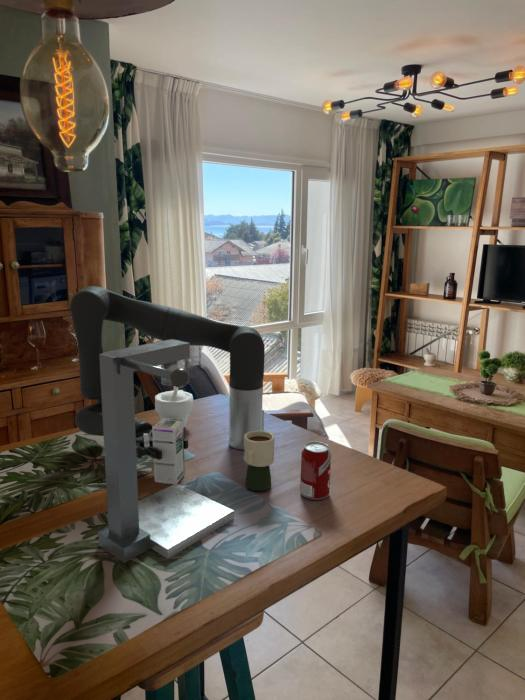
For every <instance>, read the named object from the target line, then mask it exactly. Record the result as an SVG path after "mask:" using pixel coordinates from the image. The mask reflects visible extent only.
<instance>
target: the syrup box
mask: <svg viewBox="0 0 525 700" xmlns="http://www.w3.org/2000/svg"><path fill="white" fill-rule="evenodd" d="M152 426H153V427H152V434H153V447H155V448H157V449H159V450H161V451H162V459H160V460H158V459H155V458H153V471H154V473H153V475H154V482H155V483H160V484H164V485H174V484H176V483H177V484H179V482H180V481H181V479H182V478H183V477H184V476H185V473H186V472H185V471H186V470H185V468H186V467H185V449H184V439H185V438H184V428H183V420H179V419H170V418H162V419H161V418H160V420H158V422H156V423H155V424H154V425H152Z"/></svg>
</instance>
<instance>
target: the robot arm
mask: <svg viewBox="0 0 525 700" xmlns="http://www.w3.org/2000/svg"><path fill="white" fill-rule="evenodd" d="M69 308H70V310H69V311H70V314H71V318H72V323H73V327H74V332H75V337H76V342H77V351H78V361H79V363H78V364H79V380H80V381H79V383H80V384H79V385H80V393H81V397H83V398H84V399H85V400H90V401H91V400H92V401H94V400H95V401H96V403H93V404H91V405H87V406H83V407H82V408H80V409H78V411H77V412H76V413H75V416H74V422H75V425H76V427H77V428H78V429H79V430H80V432H82V433H85V434H86V435H92V436H99V437H104V433H103V414H102V395H101V377H100V358H99V354H102V353H103V352H104V351H103V349H104V347H103V336H102V335H103V327H104V326H103V325H104V321H108V322H109V321H110V322H115V323H119V324H124V325H127V326H129V327H131V328H134V329H135V330H137V331H139V332H141V334H142V333H143V334H144V335H147V336H148V337H151V338H153V339H155V340H159V341H165V340H170V339H174V340H179V341H183V342H187V343H190V346H191V347H192V346H193V347H194V346H195V347H197V346H198V347H210V348H214V349H218V350H221V351H224V352H226V353H229V377H228V378H229V379H228V380H229V384H228V385H229V395H228V396H229V403H228V404H229V405H228V406H229V409H228V410H229V411H228V412H229V414H228V415H229V417H228V419H229V420H228V421H229V424H228V426H229V427H228V431H229V432H228V435H229V437H228V441H229V442H228V444H229V446H230V447H231V448H233V449H235V450H241V451H245V448H244V435H245V434H246V433H248V432H251V431H265V430H264V429H265V410H264V409H263V395H264V394H263V393H264V392H263V390H264V389H263V388H264V375H265V357H266V355H265V353H266V352H265V350H266V349H265V347H266V346H265V342H264V340H263V338H262V335H261V334H260V332H259V331H258V330H256V329H255V328H254V327H253V328H252V327H251V326H250V327H249V326H245V325H239V324H232V323H225V322H221V321H217V320H213V319H209V318H208V317H204V316H201V315H198V314H196V313H193V312H189V311H186V310H183V309H179V308H175V307H172V306H167V305H163V304H159V303H153V302H150V301H144V300H138V299H134V298H131V297H128V296H124V295H122V294H119V293H116V292H114V291H111V290H108V289H106V288H103V287H100V286H97V285H96V286H95V285H89V286H85V287H83V288H82V289H80V290H79V291H77V292H76V293H74V295H73V296H72V298H71V300H70V303H69ZM153 426H154V425H152V424H151V423H150V422H148V421H146V420H142V419H139V418H137V417H135V433H136V459H142V458H143V456H145V457H148V458H149V457H150V458H153V459H154V458H155V459H158V460H160V459H162V451H161V450H159V449H157V448H155V447H153V434H152V427H153ZM187 449H189V440H188V439H186V438H184V450H187Z"/></svg>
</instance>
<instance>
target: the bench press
mask: <svg viewBox="0 0 525 700" xmlns="http://www.w3.org/2000/svg"><path fill="white" fill-rule="evenodd" d="M190 346H191V345H190V343H187V342H183V341H179V340H174V339H170V340H165V341H162V340H159V341H155V342H152V343H151V342H149V343H146V344H140V345H135V346H129V347H125V348H120V349H116V350H115V349H114V350H109V351H105V352H104V351H103V353H102V354H99V358H100V377H101V395H102V414H103V433H104V436H103V448H104V449H103V450H104V452H103V453H104V466H105V467H104V469H105V483H106V484H105V485H106V486H105V487H106V504H107V522H108V524H107V525H108V526H107V527H105V528H104V529H103V528H102V529H101V530H99V531H98V532H97V534H98V538H97V539H98V546H99V547H100V548H101V549H103V550H104V551H106V552H108V553H109V554H110V555H112V556H113V557H115V558H116V559H118V561H120V562H121V563H123V564H126V563H127V562H130V561H131V560H133V559H134V558H136V557H138V556H140V555H141V554H143V553H145V552H147V551H149V550H153V551H154V552H155V553H157V552H158V554H159V555H161V556H162V557H164V558H166V559H167V560H168V559H169V560H170V559H171V558H172V557H174V556H175V555H177V554H179V553H181V552H182V551H184V550H185V549H187V548H189V547H190V546H191V545H194V544H195V543H197V542H198V541H201V540H202V539H203V538H205V537H206V536H207V537H208V535H210V534H212V533H213V532H215V531H216V529H217V530H218V529H220V528H221V526H222V527H223V526H225V525H226V524H228V523H230V522H231V521H233V520H234V519H235V510H234V509H232V508H230V507H227V506H225V505H223V504H221V503H220V502H217V501H215V500H213V499H211V498H209V497H206V496H204V495H202V494H201V493H198V492H196V491H194V490H192V489H190V488H188V487H185V486H184V485H182V484H179V483H176V484H171V485H169V486H167V487H166V488H164V489H161V490H159V491H156V492H155V493H153V494H150V495H149V496H147V497H144V498H142V499H140V500H139V493H138V488H139V487H138V467H137V466H138V464H137V463H138V462H137V459H138V458H137V457H136V433H135V418H136V414H135V408H136V407H135V390H134V389H135V388H134V387H135V384H134V372H137V371H139V372H142V373H146V374H149V375H153V376H157V377H160V378H161V381H160V382H161V385H163V386H167V387H171V386H172V387H174V386H175V387H178V389H179V388H184V387H186V386H187V385H188V384H189V383H190V377H191V376H190V373H189V372H188V370H187V369H185V368H184V369H182V368H178V361H179V360H183V359H184V360H186V359H188V360H189V359H190V358H191V355H190V354H191V353H190V350H191V349H190ZM158 365H161V368H159V367H156V366H158ZM233 518H234V519H233ZM232 519H233V520H232ZM230 520H231V521H230ZM229 521H230V522H229ZM227 522H228V523H227ZM224 524H225V525H224ZM219 527H220V528H219ZM211 532H212V533H211ZM201 538H202V539H201ZM188 546H189V547H188ZM186 547H187V548H186ZM148 549H149V550H148ZM183 549H184V550H183Z"/></svg>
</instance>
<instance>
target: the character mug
mask: <svg viewBox="0 0 525 700" xmlns="http://www.w3.org/2000/svg"><path fill="white" fill-rule="evenodd" d="M275 441H276V439H275V435H274V434H273V433H271V432H270V431H266V430H264V431H251V432H248V433H246V434H245V435H244V448H245V450H243V451H244V453H243V460H244V462H245V463H246V464H247V469H246V475H245V483H244V485H245V488H246V489H247V490H251V491H266V490H270V488H271V487H272V477H271V476H272V474H271V468H270V466H271V465H273V463H274V460H275Z"/></svg>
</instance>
